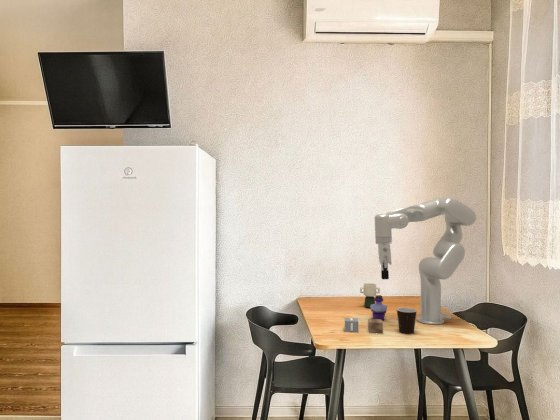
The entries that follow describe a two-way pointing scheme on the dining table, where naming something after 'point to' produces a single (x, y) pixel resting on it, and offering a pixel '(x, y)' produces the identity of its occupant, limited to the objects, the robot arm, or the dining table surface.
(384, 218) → the robot arm
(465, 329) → the dining table surface
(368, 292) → the character mug
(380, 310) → the potion bottle
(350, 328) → the marked slate block
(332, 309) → the dining table surface
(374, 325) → the walnut block
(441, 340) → the dining table surface
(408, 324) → the coffee mug
